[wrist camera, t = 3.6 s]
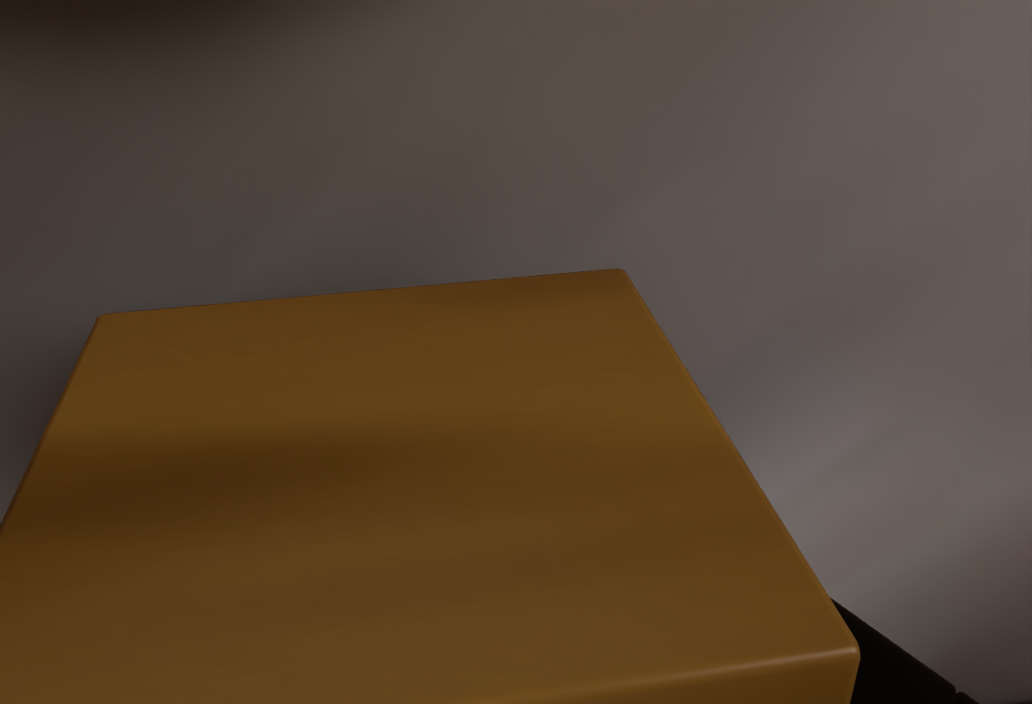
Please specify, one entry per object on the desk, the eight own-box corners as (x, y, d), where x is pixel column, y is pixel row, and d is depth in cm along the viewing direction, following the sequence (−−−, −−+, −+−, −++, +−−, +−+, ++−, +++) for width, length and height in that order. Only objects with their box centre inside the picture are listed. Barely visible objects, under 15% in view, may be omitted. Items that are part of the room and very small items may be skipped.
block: (609, 628, 12) (764, 1090, 8) (197, 686, 11) (113, 1229, 7) (625, 264, 9) (868, 648, 5) (95, 310, 9) (-137, 800, 4)
